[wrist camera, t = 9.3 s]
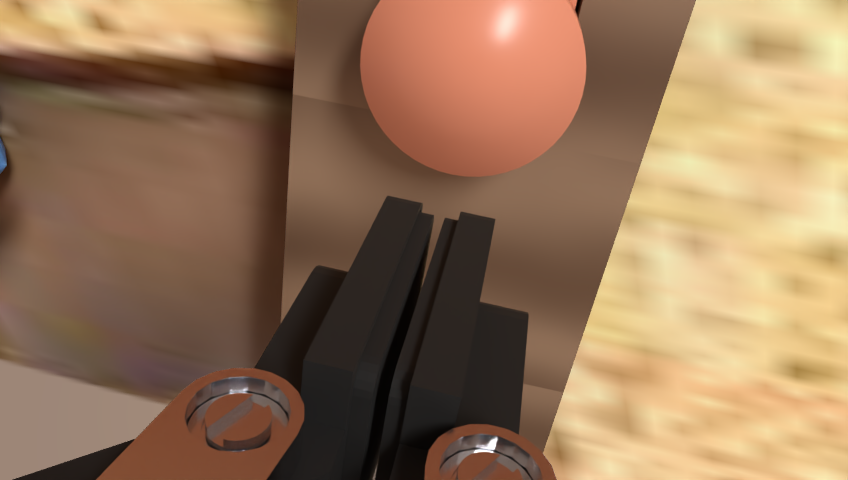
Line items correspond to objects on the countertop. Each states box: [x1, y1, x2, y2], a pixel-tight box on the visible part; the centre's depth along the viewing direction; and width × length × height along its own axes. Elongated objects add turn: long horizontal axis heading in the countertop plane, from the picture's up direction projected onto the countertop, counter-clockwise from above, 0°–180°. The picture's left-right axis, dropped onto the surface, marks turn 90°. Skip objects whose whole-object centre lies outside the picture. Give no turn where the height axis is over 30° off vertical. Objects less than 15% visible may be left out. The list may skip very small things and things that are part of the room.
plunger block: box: [281, 0, 696, 453], centre depth 29 cm, size 26×12×6 cm, turn 172°
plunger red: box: [360, 0, 586, 177], centre depth 23 cm, size 6×6×7 cm
